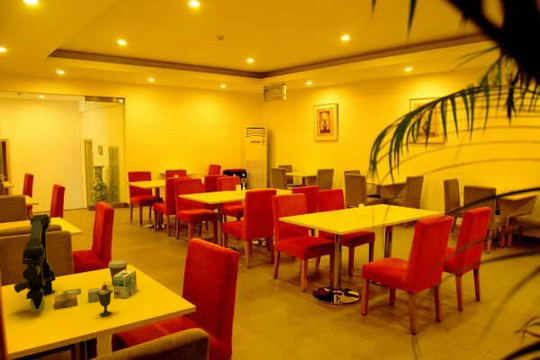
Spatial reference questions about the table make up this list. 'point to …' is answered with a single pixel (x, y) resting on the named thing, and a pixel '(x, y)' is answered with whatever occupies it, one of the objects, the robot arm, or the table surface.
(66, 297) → the walnut block
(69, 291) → the swatch card
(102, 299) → the sundae
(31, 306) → the sage cube
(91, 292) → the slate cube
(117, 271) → the disposable coffee cup
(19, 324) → the table surface
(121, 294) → the light bulb box
